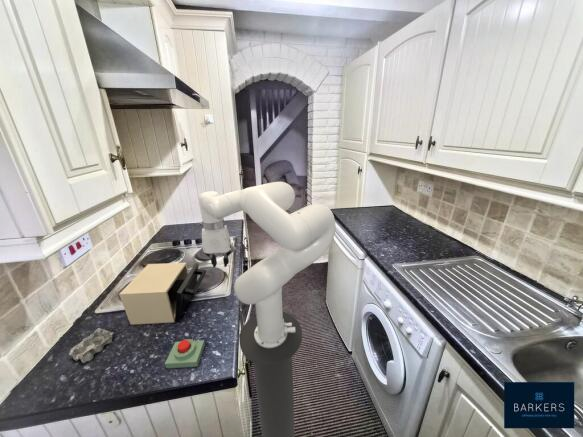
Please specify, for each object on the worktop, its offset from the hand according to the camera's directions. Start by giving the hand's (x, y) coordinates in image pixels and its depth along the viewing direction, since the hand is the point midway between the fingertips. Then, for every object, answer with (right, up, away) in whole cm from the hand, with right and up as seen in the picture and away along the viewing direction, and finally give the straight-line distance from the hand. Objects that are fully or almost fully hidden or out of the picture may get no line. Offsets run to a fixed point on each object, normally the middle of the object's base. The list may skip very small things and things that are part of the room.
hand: (220, 264), depth 93 cm
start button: (-6, -24, -18) cm, 31 cm away
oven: (-27, -19, +6) cm, 33 cm away
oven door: (-15, -19, +7) cm, 25 cm away
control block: (-6, -27, -16) cm, 33 cm away
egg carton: (-41, -27, -13) cm, 50 cm away
